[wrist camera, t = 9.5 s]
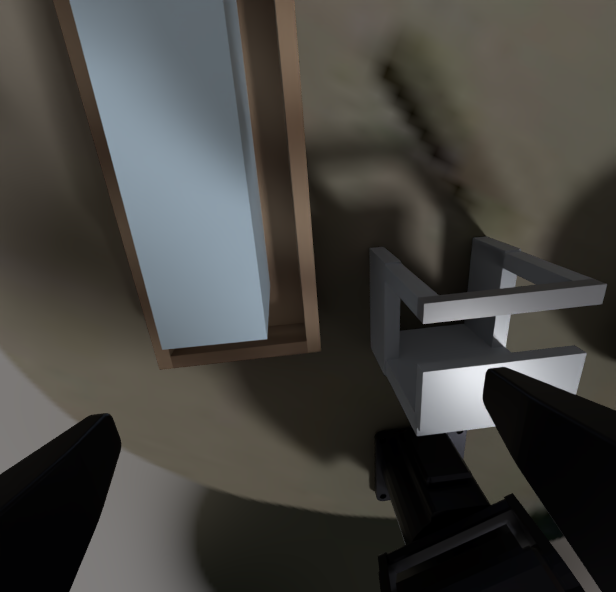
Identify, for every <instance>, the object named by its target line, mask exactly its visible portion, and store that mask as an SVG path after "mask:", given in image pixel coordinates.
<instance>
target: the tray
mask: <svg viewBox="0 0 616 592" xmlns="http://www.w3.org/2000/svg"><path fill="white" fill-rule="evenodd" d="M53 2H54V6H55V9H56V13H57V16H58V20H59V23H60V26H61V30H62V33H63V37H64V40H65V44H66V47H67V51H68V54H69V58H70V61H71V65H72V68H73V71H74V75H75V78H76V82H77V85H78V89H79V92H80V96H81V99H82V103H83V106H84V110H85V113H86V116H87V120H88V123H89V127H90V130H91V134H92V137H93V141H94V144H95V148H96V151H97V155H98V158H99V161H100V165H101V168H102V172H103V175H104V179H105V182H106V186H107V189H108V193H109V196H110V199H111V203H112V206H113V210H114V213H115V217H116V220H117V224H118V227H119V231H120V234H121V238H122V241H123V244H124V248H125V251H126V255H127V258H128V262H129V265H130V269H131V272H132V276H133V279H134V283H135V286H136V289H137V293H138V296H139V300H140V303H141V307H142V310H143V314H144V317H145V321H146V324H147V328H148V331H149V334H150V338H151V341H152V345H153V348H154V352H155V355H156V359H157V362H158V366H159V369H160V370H162V369H171V368H179V367H188V366H197V365H206V364H215V363H223V362H232V361H241V360H250V359H259V358H268V357H276V356H285V355H294V354H303V353H312V352H320V351H321V343H320V330H319V317H318V304H317V291H316V278H315V265H314V252H313V238H312V225H311V212H310V199H309V186H308V173H307V160H306V147H305V134H304V121H303V108H302V95H301V82H300V68H299V55H298V42H297V29H296V16H295V3H294V0H236V2H237V10H238V19H239V27H240V35H241V44H242V52H243V61H244V69H245V77H246V86H247V94H248V103H249V111H250V119H251V128H252V136H253V145H254V153H255V161H256V170H257V178H258V187H259V195H260V203H261V212H262V220H263V229H264V237H265V245H266V254H267V262H268V271H269V279H270V300H269V317H268V335H267V339H264V340H254V341H244V342H235V343H225V344H215V345H205V346H195V347H185V348H176V349H166V350H162V347H161V343H160V340H159V336H158V332H157V328H156V324H155V321H154V317H153V313H152V309H151V306H150V302H149V298H148V294H147V291H146V287H145V283H144V279H143V276H142V272H141V268H140V264H139V260H138V257H137V253H136V249H135V245H134V242H133V238H132V234H131V230H130V227H129V223H128V219H127V215H126V212H125V208H124V204H123V200H122V197H121V193H120V189H119V185H118V181H117V178H116V174H115V170H114V166H113V163H112V159H111V155H110V151H109V148H108V144H107V140H106V136H105V133H104V129H103V125H102V121H101V117H100V114H99V110H98V106H97V102H96V99H95V95H94V91H93V87H92V84H91V80H90V76H89V72H88V69H87V65H86V61H85V57H84V53H83V50H82V46H81V42H80V38H79V35H78V31H77V27H76V23H75V20H74V16H73V12H72V8H71V5H70V1H69V0H53Z"/></svg>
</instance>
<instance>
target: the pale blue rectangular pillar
mask: <svg viewBox="0 0 616 592" xmlns="http://www.w3.org/2000/svg"><path fill="white" fill-rule="evenodd" d="M69 1H70V5H71V8H72V12H73V16H74V20H75V23H76V27H77V31H78V35H79V38H80V42H81V46H82V50H83V53H84V57H85V61H86V65H87V69H88V72H89V76H90V80H91V84H92V87H93V91H94V95H95V99H96V102H97V106H98V110H99V114H100V117H101V121H102V125H103V129H104V133H105V136H106V140H107V144H108V148H109V151H110V155H111V159H112V163H113V166H114V170H115V174H116V178H117V181H118V185H119V189H120V193H121V197H122V200H123V204H124V208H125V212H126V215H127V219H128V223H129V227H130V230H131V234H132V238H133V242H134V245H135V249H136V253H137V257H138V260H139V264H140V268H141V272H142V276H143V279H144V283H145V287H146V291H147V294H148V298H149V302H150V306H151V309H152V313H153V317H154V321H155V324H156V328H157V332H158V336H159V340H160V343H161V347H162V350H166V349H176V348H185V347H195V346H205V345H215V344H225V343H235V342H244V341H254V340H264V339H267V335H268V317H269V300H270V279H269V271H268V262H267V254H266V245H265V237H264V229H263V220H262V212H261V203H260V195H259V187H258V178H257V170H256V161H255V153H254V145H253V136H252V128H251V119H250V111H249V103H248V94H247V86H246V77H245V69H244V61H243V52H242V44H241V35H240V27H239V19H238V10H237V2H236V0H69Z"/></svg>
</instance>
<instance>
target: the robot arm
mask: <svg viewBox="0 0 616 592" xmlns="http://www.w3.org/2000/svg"><path fill="white" fill-rule="evenodd" d="M483 403H484V406H485V408H486V410H487V412H488V413H489V415H490V417H491V419H492V421H493V423H494V425H495V426H496V428H497V430H498V432H499V434H500V436H501V437H502V439H503V441H504V443H505V445H506V447H507V449H508V450H509V452H510V454H511V456H512V458H513V459H514V461H515V463H516V464H517V466H518V468H519V469H520V471H521V472H522V474H523V475H524V477H525V478H526V480H527V481H528V483H529V484H530V486H531V487H532V489H533V490H534V492H535V493H536V495H537V496H538V498H539V499H540V501H541V502H542V504H543V505H544V507H545V508H546V510H547V511H548V512H549V514H550V515H551V517H552V518H553V520H554V521H555V523H556V524H557V526H558V527H559V529H560V530H561V532H562V533H563V535H564V536H565V538H566V539H567V541H568V542H569V544H570V545H571V547H572V548H573V550H574V551H575V553H576V554H577V556H578V557H579V559H580V560H581V562H582V563H583V565H584V566H585V567H586V569H587V571H588V572H589V574H590V575H591V576H592V578H593V579H594V581H595V582H596V584H597V585H598V587H599V588H600V590H601V591H602V592H616V411H615V410H613V409H610V408H608V407H605V406H603V405H600V404H598V403H595V402H593V401H590V400H588V399H585V398H583V397H580V396H578V395H575V394H573V393H570V392H568V391H565V390H562V389H560V388H557V387H555V386H552V385H550V384H547V383H545V382H542V381H540V380H537V379H535V378H532V377H530V376H527V375H525V374H522V373H520V372H517V371H515V370H512V369H510V368H507V367H497V368H490V369H488V370H487V371H486V374H485V380H484V388H483ZM466 432H467V430H462V431H455V432H447V433H439V434H431V435H423V436H416V434H415V432H414V430H413V428H405V429H397V430H389V431H381V432H378V433H377V434H376V435H375V493H376V497H377V499H378V500H379V501H387V500H391V502H392V505H393V508H394V511H395V514H396V517H397V520H398V523H399V526H400V529H401V533H402V535H403V539H404V541H405V545H404V546H402V547H400V548H398V549H396V550H394V551H392V552H389V553H386V552H385V553H383V554H381V555H379V556H378V562H379V580H380V589H381V592H585V591H584V590H583V588H582V586H581V585H580V583H579V582H578V581H577V579H576V578H575V576H574V575H573V574H572V572H571V570H570V569H569V568H568V566H567V565H566V563H565V562H564V561H563V559H562V558H561V557H560V555H559V554H558V553H557V551H556V550H555V549H554V547H553V546H552V545H551V543H550V542H549V541H548V539H547V538H546V537H545V535H544V534H543V533H542V531H541V530H540V529H539V527H538V526H537V525H536V523H535V522H534V521H533V519H532V518H531V517H530V516H529V514H528V513H527V512H526V510H525V509H524V508H523V506H522V505H521V504H520V502H519V501H518V500H517V498H516V497H515V496H514V494H513V493H512V494H509V495H507V496H505V497H504V499H503V500H501V501H499V502H497V503H495V504H493V505H490V503H489V501H488V500H487V498H486V497H485V495H484V493H483V492H482V490H481V488H480V487H479V485H478V484H477V482H476V480H475V479H474V477H473V475H472V473H471V472H470V470H469V468H468V467H467V465H466V463H465V462H464V460H463V457H464V449H465V441H466ZM383 438H384V439H383ZM381 439H382V440H381ZM120 451H121V439H120V436H119V433H118V431H117V428H116V425H115V423H114V420H113V418H112V416H111V415H110V414H108V413H103V414H94V415H90V416H88V417H86V418H85V419H83V420H82V421H80V422H79V423H77V424H76V425H74V426H73V427H71V428H70V429H68V430H67V431H65V432H64V433H62V434H61V435H59V436H58V437H56V438H55V439H53V440H52V441H50V442H49V443H47V444H46V445H44V446H42V447H41V448H40V449H38V450H37V451H35V452H33V453H32V454H30V455H29V456H27V457H26V458H24V459H23V460H21V461H20V462H18V463H17V464H15V465H14V466H12V467H11V468H9V469H8V470H6V471H5V472H3V473H2V474H0V592H69V591H70V589H71V586H72V584H73V582H74V579H75V577H76V574H77V572H78V570H79V567H80V565H81V562H82V560H83V557H84V555H85V553H86V550H87V548H88V545H89V543H90V541H91V538H92V536H93V533H94V531H95V529H96V526H97V523H98V521H99V518H100V515H101V512H102V509H103V507H104V503H105V500H106V497H107V493H108V490H109V487H110V484H111V480H112V477H113V474H114V471H115V467H116V464H117V460H118V458H119V454H120Z"/></svg>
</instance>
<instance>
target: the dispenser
mask: <svg viewBox="0 0 616 592" xmlns="http://www.w3.org/2000/svg"><path fill="white" fill-rule="evenodd" d="M369 250H370V326H371V349H372V351H373V353H374V356H375V358H376V360H377V362H378V364H379V366H380V368H381V370H382V372H383V374H384V376H387V378H388V380H389V382H390V384H391V386H392V388H393V390H394V392H395V394H396V396H397V398H398V400H399V402H400V404H401V406H402V408H403V410H404V412H405V414H406V416H407V418H408V420H409V422H410V424H411V426H412V428H413V430H414V432H415V434H416V436H423V435H431V434H439V433H447V432H455V431H462V430H470V429H478V428H486V427H494V426H495V425H494V423H493V421H492V419H491V417H490V415H489V413H488V412H487V410H486V408H485V406H484V403H483V388H484V380H485V374H486V371H487V370H488V369H490V368H497V367H507V368H510V369H512V370H515V371H517V372H520V373H522V374H525V375H527V376H530V377H532V378H535V379H537V380H540V381H542V382H545V383H547V384H550V385H552V386H555V387H557V388H560V389H562V390H565V391H568V392H570V393H573V394H575V395H576V392H577V388H578V384H579V381H580V377H581V373H582V369H583V365H584V362H585V358H586V354H587V353H586V352H584V351H583V350H581V349H580V348H578V347H576V346H575V345H574V346H565V347H556V348H548V349H539V350H531V351H522V352H514V353H511V352H510V351H509V350H508V349H506V348H505V347H506V341H507V334H508V328H509V322H510V315H511V314H518V313H527V312H536V311H545V310H554V309H563V308H572V307H581V306H590V305H599V304H602V303H603V299H604V295H605V291H606V287H607V284H606V283H604V282H601V281H598V280H596V279H593V278H590V277H588V276H585V275H582V274H580V273H577V272H575V271H572V270H569V269H567V268H564V267H561V266H559V265H556V264H553V263H551V262H548V261H546V260H543V259H540V258H538V257H535V256H532V255H530V254H527V253H524V252H522V251H521V249H519V248H517V247H514V246H511V245H509V244H506V243H503V242H500V241H498V240H495V239H492V238H490V237H487V236H485V237H475V238H473V242H472V252H471V261H470V271H469V281H468V291H467V292H465V293H455V294H446V295H438V294H437V293H436V292H434V291H433V290H432V289H431V288H430V287H429V286H427V285H426V284H425V283H424V282H423V281H421V280H420V279H419V278H418V277H417V276H415V275H414V274H413V273H412V272H411V271H410V270H408V269H407V268H406V267H405V266H404V265H402V264H401V261H400V260H399V259H398V258H397V257H395V256H394V255H393V254H392V253H390V252H389V251H388V250H387V249H386V248H384V247H375V248H369ZM517 275H518V276H520V277H522V278H524V279H526V280H528V281H530V282H532V283H534V284H536V285H530V286H520V287H515V284H516V277H517ZM400 298H401V300H402V301H403V302H404V303H405V304H406V305H407V306H408V307H409V309H410V310H411V311H412V312H413V313H414V314H415V315H416V317H417V318H418V319H419V320H420V321H421V322H422V323H423V324H428V323H437V322H446V321H455V320H464V319H465V320H464V324H456V325H447V326H438V327H429V328H421V329H412V330H403V331H400Z"/></svg>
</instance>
